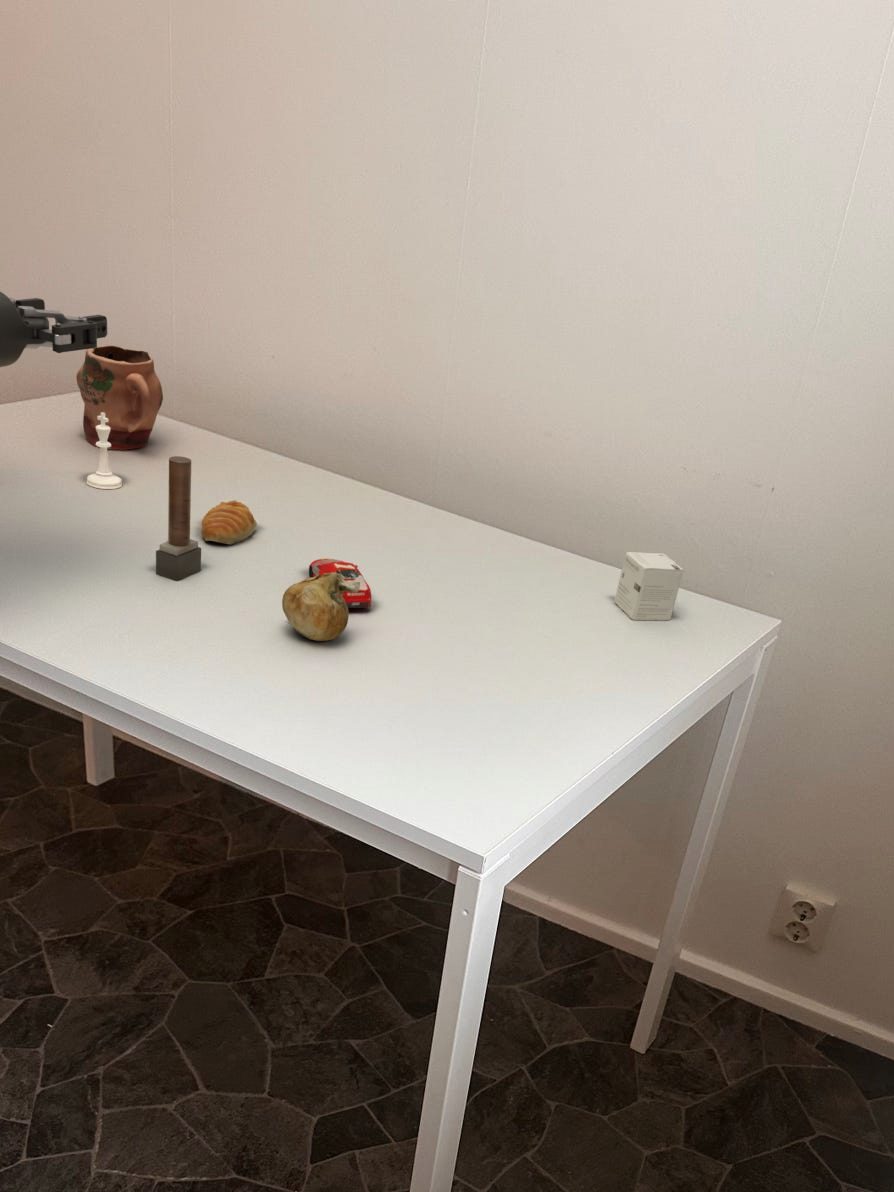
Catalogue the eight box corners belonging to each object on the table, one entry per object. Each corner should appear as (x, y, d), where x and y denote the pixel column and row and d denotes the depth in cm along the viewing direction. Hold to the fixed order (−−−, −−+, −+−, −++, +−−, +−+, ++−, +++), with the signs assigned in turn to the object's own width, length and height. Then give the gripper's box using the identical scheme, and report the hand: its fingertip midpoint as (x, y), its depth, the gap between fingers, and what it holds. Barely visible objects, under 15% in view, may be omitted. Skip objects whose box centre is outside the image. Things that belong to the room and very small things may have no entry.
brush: (177, 581, 145) (178, 466, 138) (155, 574, 146) (156, 459, 138) (201, 570, 149) (203, 458, 142) (179, 563, 150) (181, 452, 142)
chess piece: (104, 491, 169) (102, 419, 163) (79, 482, 170) (76, 410, 165) (129, 485, 172) (128, 415, 167) (104, 476, 174) (102, 406, 169)
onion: (304, 616, 142) (309, 552, 137) (360, 637, 139) (367, 572, 135) (266, 634, 136) (270, 567, 132) (324, 656, 133) (330, 589, 129)
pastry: (239, 551, 157) (240, 523, 155) (189, 542, 157) (190, 514, 155) (258, 530, 165) (259, 503, 163) (210, 522, 165) (211, 494, 163)
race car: (304, 574, 154) (306, 544, 151) (344, 574, 156) (346, 545, 154) (332, 614, 144) (334, 582, 142) (374, 613, 146) (377, 582, 144)
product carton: (613, 602, 162) (624, 550, 158) (651, 603, 164) (664, 552, 160) (632, 620, 157) (644, 567, 153) (672, 621, 160) (685, 568, 156)
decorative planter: (189, 461, 186) (190, 369, 179) (117, 466, 179) (116, 370, 171) (126, 425, 198) (125, 337, 190) (56, 429, 190) (52, 337, 183)
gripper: (19, 306, 115) (125, 294, 128) (-95, 275, 118) (19, 266, 131) (23, 386, 119) (126, 367, 132) (-87, 354, 123) (23, 338, 135)
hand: (73, 317), depth 132 cm, fingers open, 8 cm apart
